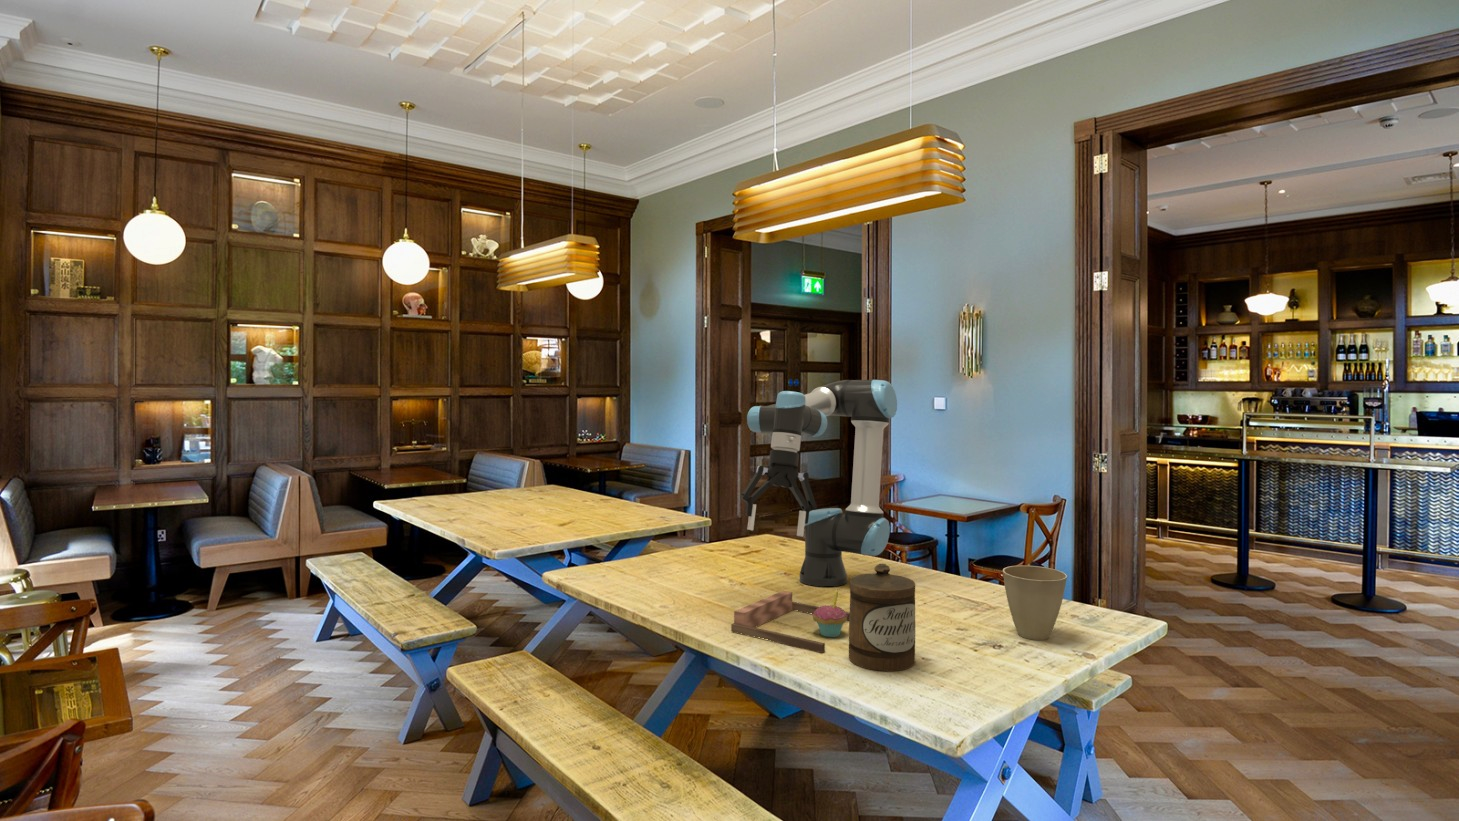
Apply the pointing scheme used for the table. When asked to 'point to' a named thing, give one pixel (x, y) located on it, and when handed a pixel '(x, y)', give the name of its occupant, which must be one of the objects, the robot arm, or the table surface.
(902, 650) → the wooden container
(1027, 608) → the plant pot
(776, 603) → the brown wooden open frame
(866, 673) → the table surface
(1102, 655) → the table surface
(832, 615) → the cupcake
